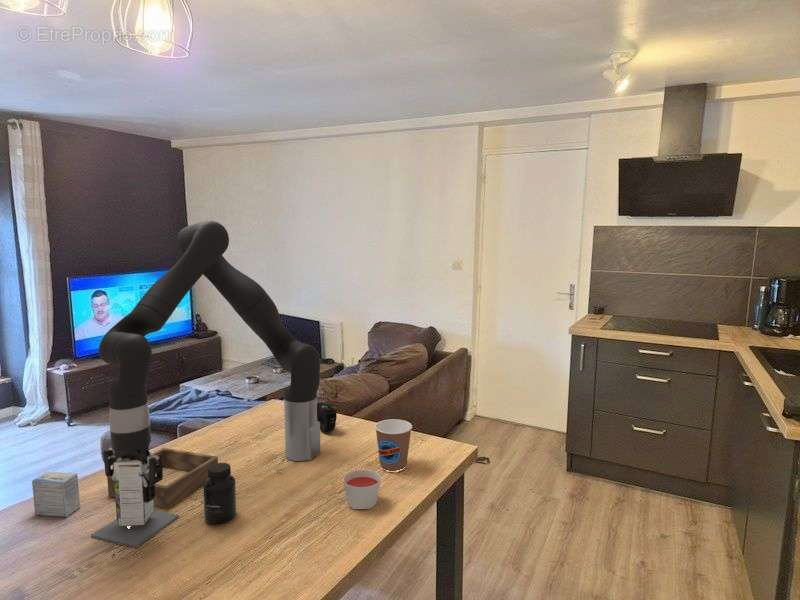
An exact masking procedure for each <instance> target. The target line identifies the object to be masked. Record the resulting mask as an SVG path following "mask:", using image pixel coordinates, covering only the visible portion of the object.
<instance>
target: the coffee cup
mask: <svg viewBox="0 0 800 600" xmlns="http://www.w3.org/2000/svg"><path fill="white" fill-rule="evenodd" d="M374 429H375V432H376V442H377V450H378V457H379V458H378V459H379V465H380V468H381V467H382V468H383V469H385V470H389V471H396V470H400V469H403V468H404V467H405V466H406V467H407V463H408V458H409V457H408V456H409V449H410V443H411V442H410V441H411V433H412V432H411V431H412V429H413V425H412V423H410V422H409V421H407V420H404V419H397V418H396V419H395V418H391V419H384V420H380V421H378V422H376V423H375V425H374Z"/></svg>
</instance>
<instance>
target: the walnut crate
mask: <svg viewBox="0 0 800 600" xmlns="http://www.w3.org/2000/svg"><path fill="white" fill-rule="evenodd" d="M158 454H161V455H162V469H164V468H168V469H169V468H170V469H174V470H179V471H186V472H187V473H185V474H184V475H181V476H180V477H179V478H176V479H175V480H174V481H172V482H171V483H169V484H167V485H163V484H158V483H156V484H155V497H154V506H155V507H156V508H162V509H167V510H168V509H170V508H172V506H175V504H177V503H179V502H180V501H181V500H183V499H185V498H186V497H188V496H189V495H191V494H192V493H193V492H195V491H196V490H198V489H199V488H201V487H202V486H204V482H205V480H206V479H207V478H208V468H209V467H210V466H211V465H213V464H216V463H219V458H218V456H215V455H210V454H204V453H197V452H192V451H185V450H179V449H175V448H169V447H162V448H160V449H158V450H155V452H152V455H155V456H156V455H158ZM106 477H107V476H106ZM107 493H108V495H107V496H108V497H110V498H115V483H114V481H113V479H112V477H111V476H109V477H107Z"/></svg>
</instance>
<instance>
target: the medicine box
mask: <svg viewBox="0 0 800 600" xmlns="http://www.w3.org/2000/svg"><path fill="white" fill-rule="evenodd" d="M31 487H32V495H33V505H34V506H33V507H34V515H35V516H39V515H40V516H41V515H42V517H58V516H59V518H61V517H63V518H67V517H69V516H71V515H70V514H74V511H75V512H76V511H77V510H79V509H80V508H81V498H80V491H79V490H80V489H79V488H80V487H79V480H78V473H76V472H60V471H59V472H57V471H46V472H44V473H42V474H41V475H38V476H37V477H36V478H33V480H31ZM78 508H79V509H78Z"/></svg>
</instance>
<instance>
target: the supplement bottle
mask: <svg viewBox="0 0 800 600" xmlns="http://www.w3.org/2000/svg"><path fill="white" fill-rule="evenodd" d="M236 489H237V488H236V478H235V477H234V476H233V475H232V469H231V464H229V463H227V462H218V463H216V464H213V465H211V466H210V467H209V468H208V478H207V479H206V480H205V482H204V485H203V516H204V517H203V518H204V521H205V522H206V523H207V524H209V525H213V526H220V525H223V524H224V525H225V524H228V523H229V522H231V521H232V520H234V519H235V517H236V514H237V490H236Z"/></svg>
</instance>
